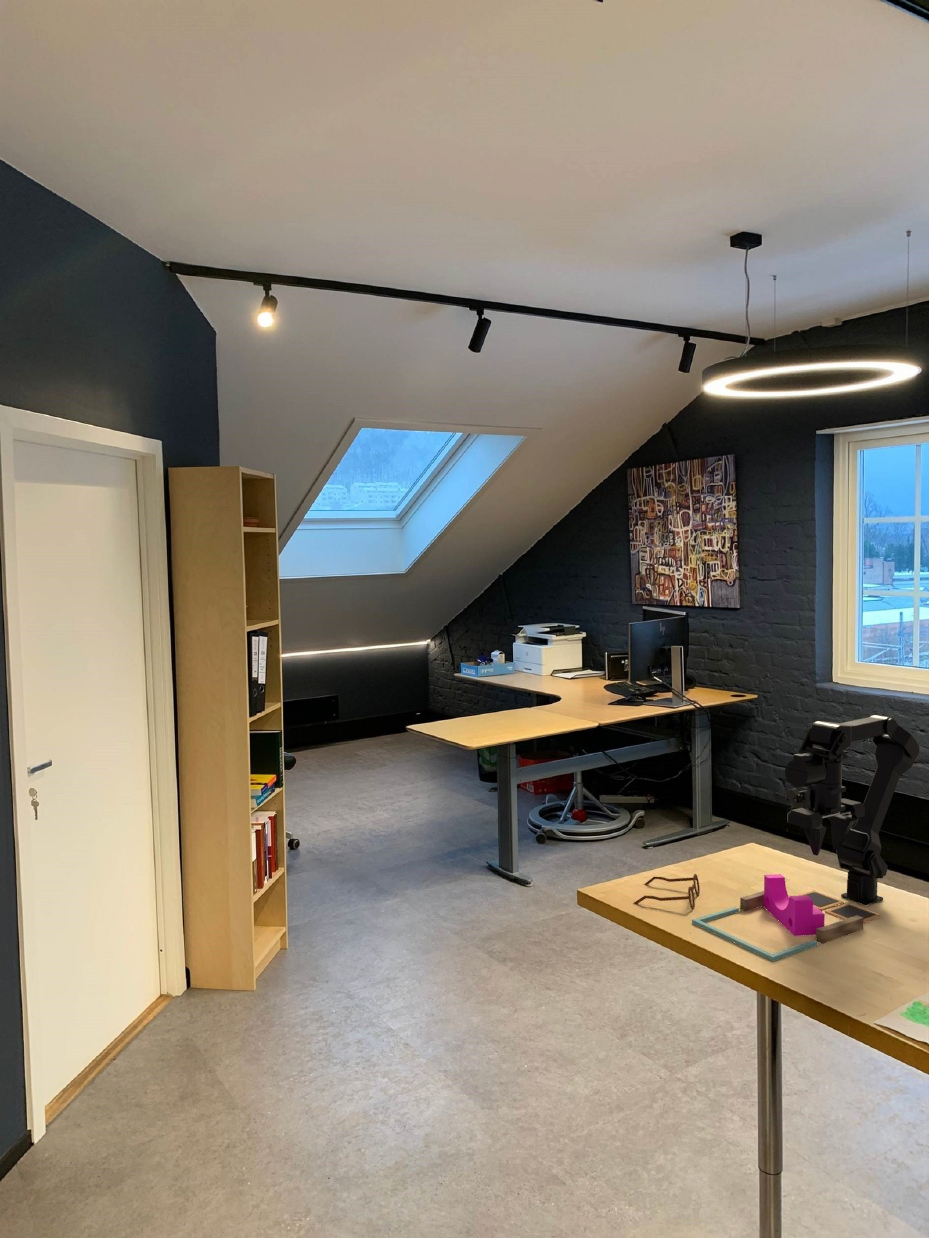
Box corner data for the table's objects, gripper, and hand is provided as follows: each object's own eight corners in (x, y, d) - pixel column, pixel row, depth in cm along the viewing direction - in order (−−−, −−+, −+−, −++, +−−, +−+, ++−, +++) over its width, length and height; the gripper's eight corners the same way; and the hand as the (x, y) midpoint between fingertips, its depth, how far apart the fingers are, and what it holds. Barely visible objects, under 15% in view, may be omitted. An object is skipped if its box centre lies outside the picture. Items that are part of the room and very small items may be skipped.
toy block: (824, 935, 183) (824, 899, 183) (794, 936, 183) (795, 900, 182) (791, 906, 198) (791, 873, 198) (763, 908, 198) (764, 874, 197)
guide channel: (780, 896, 203) (780, 886, 203) (863, 929, 185) (863, 917, 185) (740, 908, 197) (740, 897, 196) (822, 943, 179) (822, 931, 178)
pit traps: (813, 891, 206) (813, 889, 206) (881, 916, 192) (881, 914, 192) (790, 898, 202) (790, 897, 202) (857, 924, 188) (857, 923, 188)
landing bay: (735, 910, 196) (735, 906, 196) (817, 945, 178) (817, 941, 178) (692, 923, 189) (692, 919, 189) (772, 961, 171) (772, 957, 171)
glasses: (692, 914, 195) (693, 891, 195) (632, 905, 200) (633, 883, 200) (700, 892, 207) (700, 871, 207) (643, 885, 212) (643, 864, 212)
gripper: (823, 768, 205) (821, 835, 206) (767, 778, 195) (766, 849, 196) (867, 778, 195) (865, 848, 196) (810, 790, 186) (809, 864, 187)
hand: (825, 852), depth 194 cm, fingers open, 6 cm apart
